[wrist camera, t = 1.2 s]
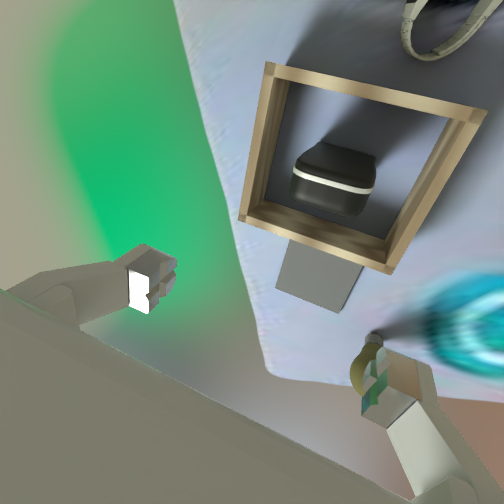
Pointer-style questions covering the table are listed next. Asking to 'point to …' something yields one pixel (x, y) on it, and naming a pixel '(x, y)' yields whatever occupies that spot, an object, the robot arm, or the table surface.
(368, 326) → the table surface
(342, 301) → the pad
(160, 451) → the robot arm
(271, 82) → the box
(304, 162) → the battery charger
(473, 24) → the wristwatch
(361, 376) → the light bulb
